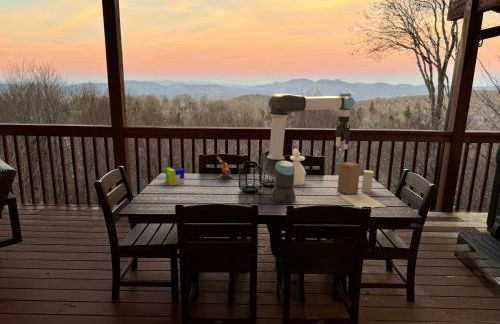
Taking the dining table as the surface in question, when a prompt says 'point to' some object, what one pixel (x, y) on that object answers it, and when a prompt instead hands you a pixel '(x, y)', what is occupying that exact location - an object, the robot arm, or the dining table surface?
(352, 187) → the wooden block
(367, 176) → the sage block
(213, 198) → the dining table surface
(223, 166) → the decorative bird
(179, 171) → the puzzle toy
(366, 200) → the mat
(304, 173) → the decorative object
